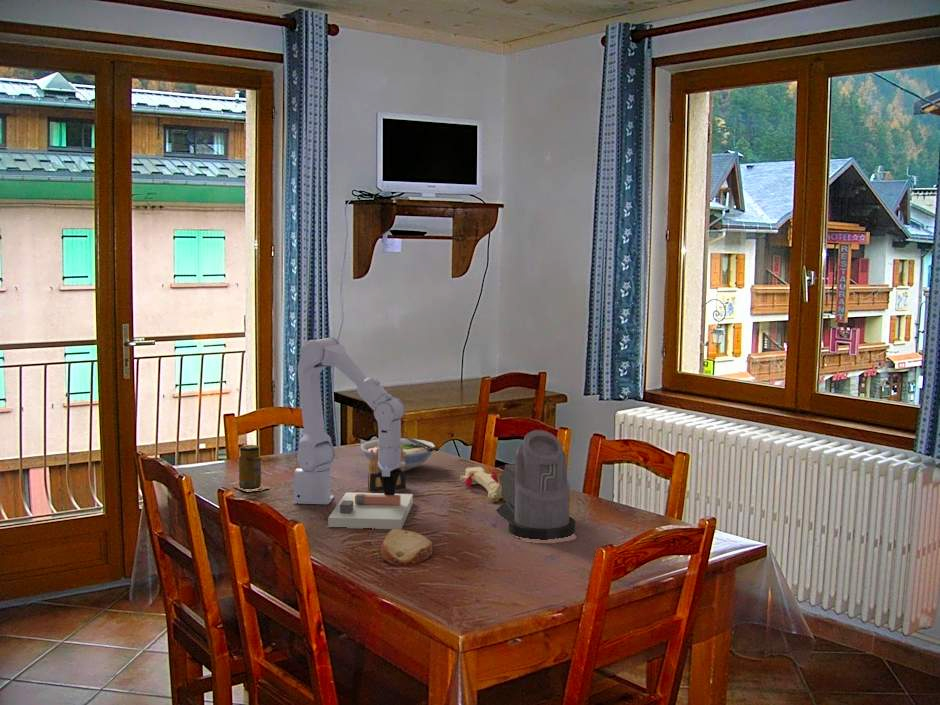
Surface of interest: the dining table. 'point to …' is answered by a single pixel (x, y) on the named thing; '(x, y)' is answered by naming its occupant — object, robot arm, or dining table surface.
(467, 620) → the dining table surface
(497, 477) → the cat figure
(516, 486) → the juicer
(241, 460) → the condiment
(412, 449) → the ramen bowl
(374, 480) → the ammunition clip
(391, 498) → the bar
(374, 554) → the dining table surface
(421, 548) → the bread slice
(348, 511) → the pale square platform
